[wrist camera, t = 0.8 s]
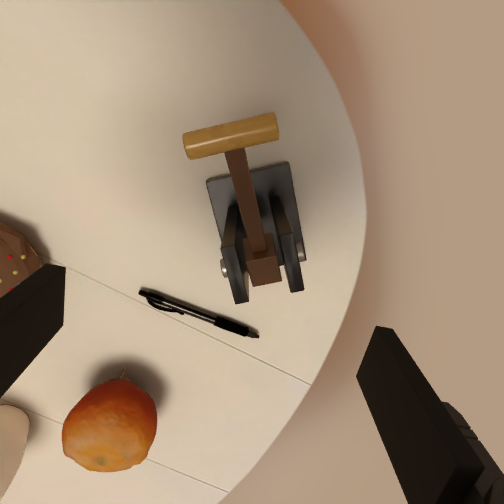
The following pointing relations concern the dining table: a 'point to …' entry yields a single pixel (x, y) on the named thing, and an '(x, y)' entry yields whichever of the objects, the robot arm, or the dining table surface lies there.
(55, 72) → the dining table surface
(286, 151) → the dining table surface
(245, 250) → the lever
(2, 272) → the donut
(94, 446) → the fruit
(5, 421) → the mug
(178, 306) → the pen
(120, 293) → the dining table surface
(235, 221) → the switch bracket
